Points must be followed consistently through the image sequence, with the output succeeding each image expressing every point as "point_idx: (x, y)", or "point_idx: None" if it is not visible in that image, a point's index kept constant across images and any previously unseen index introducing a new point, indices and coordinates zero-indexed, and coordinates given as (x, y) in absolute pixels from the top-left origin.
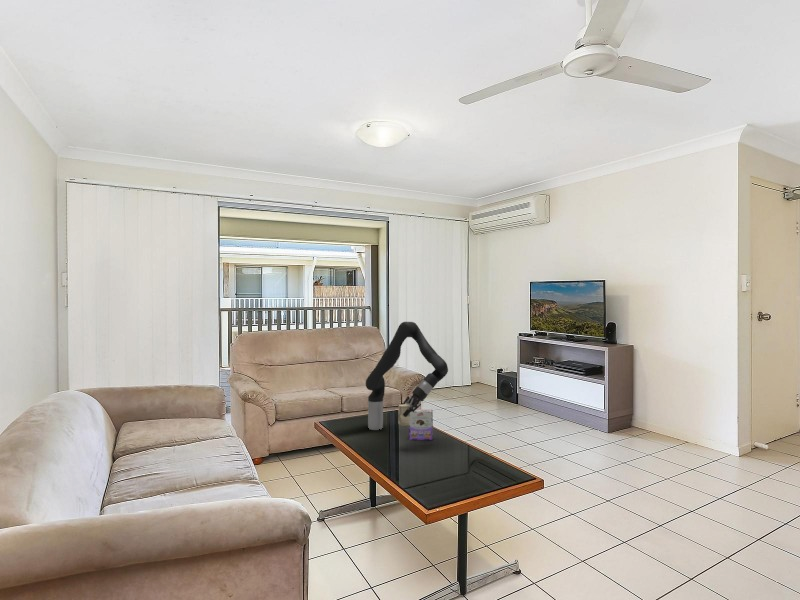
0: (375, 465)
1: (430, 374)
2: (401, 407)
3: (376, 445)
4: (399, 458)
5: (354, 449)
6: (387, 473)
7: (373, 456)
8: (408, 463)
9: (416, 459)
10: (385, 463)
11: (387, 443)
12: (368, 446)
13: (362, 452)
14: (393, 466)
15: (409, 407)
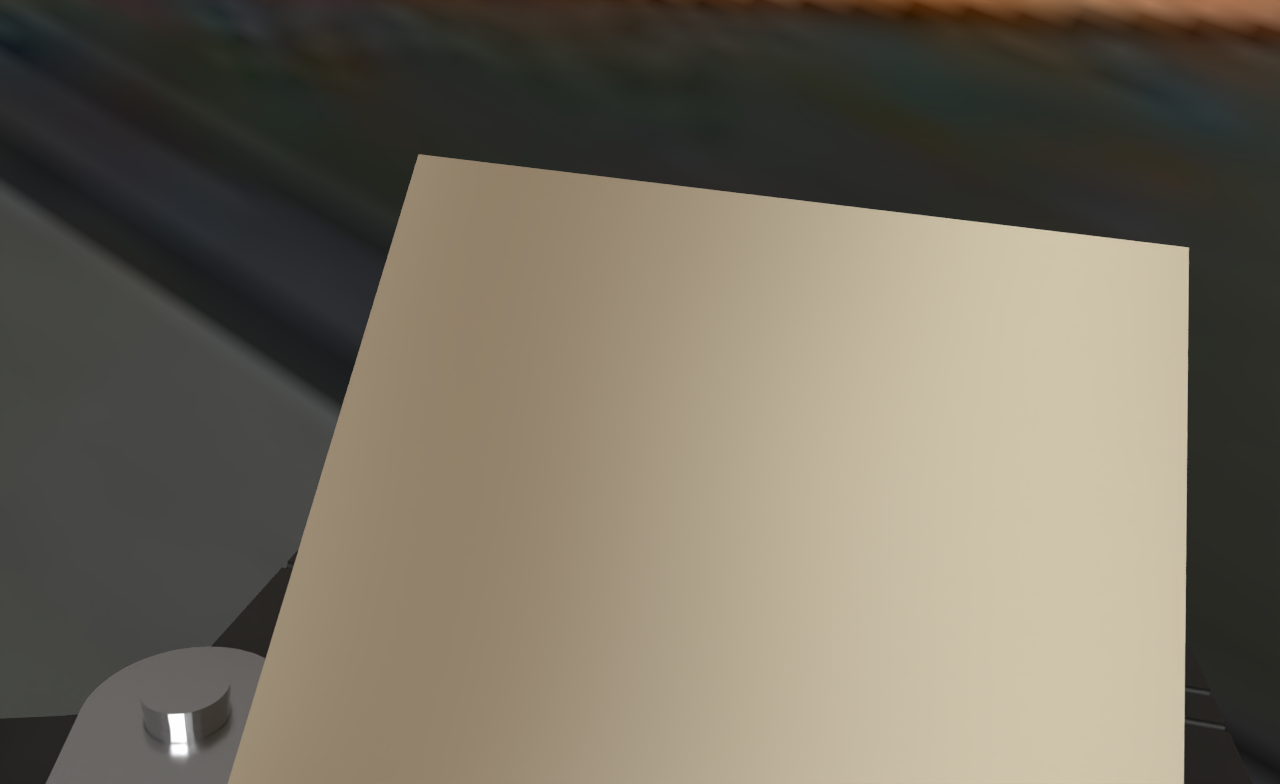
0: (350, 4)
1: None
2: (544, 210)
3: (1225, 442)
4: None
5: (1173, 39)
6: (13, 4)
7: (692, 134)
8: (63, 425)
9: (97, 656)
10: (317, 142)
11: (1259, 709)
12: (1230, 290)
13: (964, 79)
14: (141, 177)
15: (87, 775)
